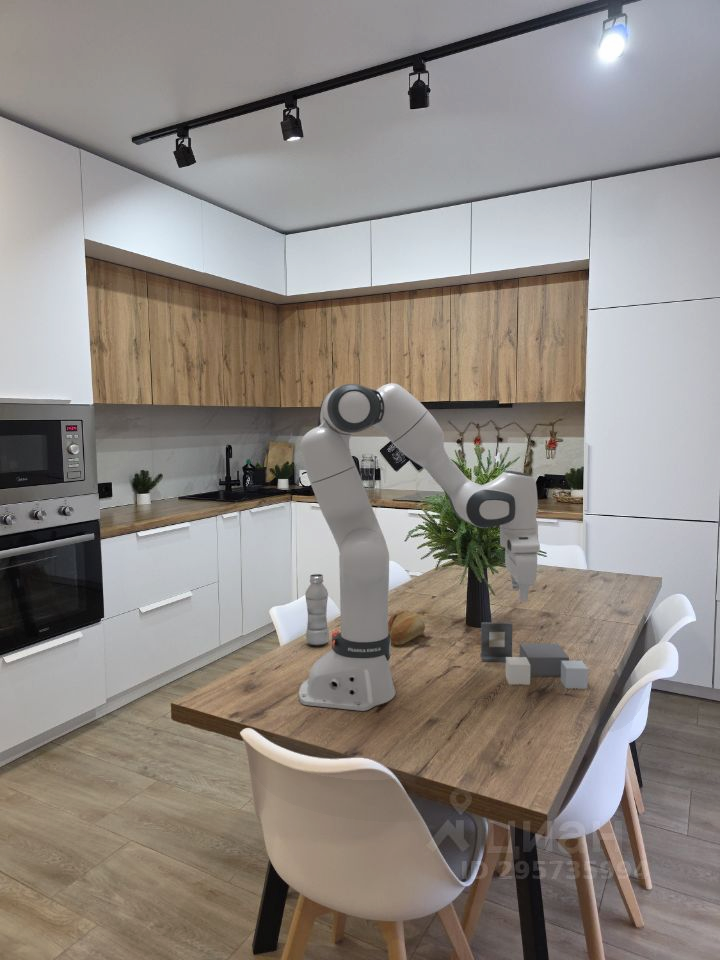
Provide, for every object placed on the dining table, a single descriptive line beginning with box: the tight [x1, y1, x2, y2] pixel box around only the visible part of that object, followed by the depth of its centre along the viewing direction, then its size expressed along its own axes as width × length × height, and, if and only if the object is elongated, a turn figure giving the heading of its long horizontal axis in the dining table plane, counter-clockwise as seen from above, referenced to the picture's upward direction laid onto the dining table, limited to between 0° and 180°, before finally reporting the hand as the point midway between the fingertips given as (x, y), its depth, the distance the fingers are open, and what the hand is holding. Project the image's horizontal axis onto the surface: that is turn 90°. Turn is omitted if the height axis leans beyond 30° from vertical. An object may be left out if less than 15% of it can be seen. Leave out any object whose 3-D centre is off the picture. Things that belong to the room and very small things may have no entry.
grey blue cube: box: [560, 660, 589, 690], centre depth 157 cm, size 5×5×5 cm
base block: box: [519, 643, 570, 677], centre depth 167 cm, size 10×10×5 cm
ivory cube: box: [505, 656, 531, 686], centre depth 160 cm, size 5×5×5 cm
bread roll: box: [388, 610, 426, 646], centre depth 190 cm, size 10×15×8 cm, turn 150°
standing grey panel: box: [479, 622, 513, 663], centre depth 174 cm, size 8×4×10 cm, turn 87°
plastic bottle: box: [304, 573, 330, 646], centre depth 186 cm, size 6×7×20 cm
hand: (519, 595), depth 157 cm, fingers open, 8 cm apart
